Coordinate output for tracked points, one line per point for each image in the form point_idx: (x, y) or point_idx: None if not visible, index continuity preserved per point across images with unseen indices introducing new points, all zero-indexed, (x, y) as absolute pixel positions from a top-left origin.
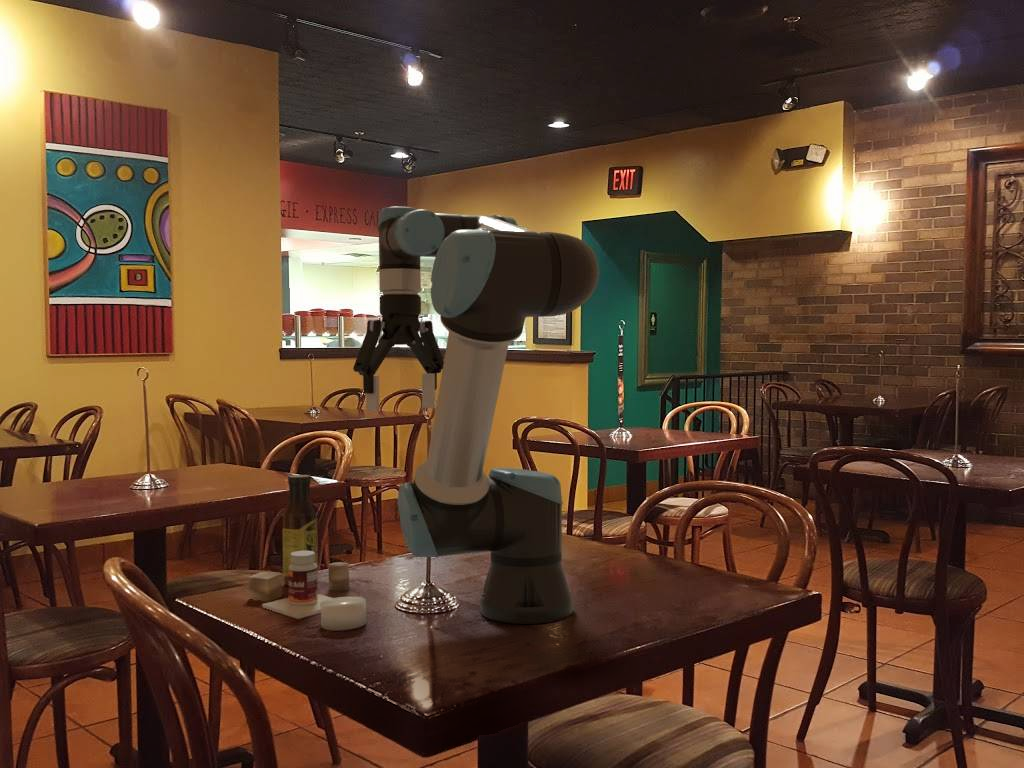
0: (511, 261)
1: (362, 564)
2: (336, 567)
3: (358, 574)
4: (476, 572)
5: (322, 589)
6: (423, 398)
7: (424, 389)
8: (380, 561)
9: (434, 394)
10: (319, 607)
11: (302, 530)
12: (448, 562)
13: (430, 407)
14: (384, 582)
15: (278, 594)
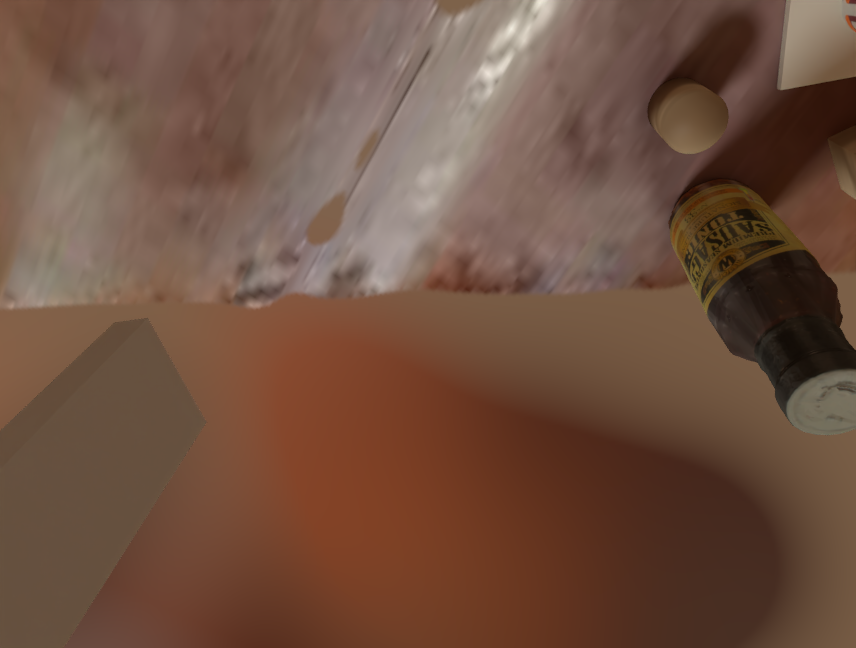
0: None
1: (482, 286)
2: (721, 98)
3: (545, 208)
4: (276, 16)
5: None
6: (157, 473)
7: (94, 542)
8: (432, 284)
9: (26, 409)
10: None
11: (794, 243)
12: (295, 171)
13: (155, 341)
14: (544, 88)
15: (849, 131)
